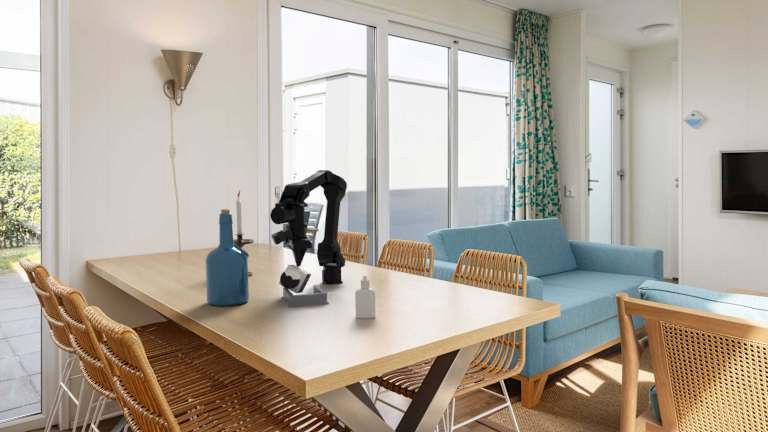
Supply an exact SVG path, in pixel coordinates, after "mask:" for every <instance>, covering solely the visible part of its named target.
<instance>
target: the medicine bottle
mask: <svg viewBox="0 0 768 432" xmlns="http://www.w3.org/2000/svg"><path fill="white" fill-rule="evenodd" d="M311 276H312V273H310V272H309V271H307V270H305V269H303V268H301V267H297V266H296V264H287V267H286V269H285V270H284V271H283V272H282V273H281V275H280V278H279V282H278V285H280V286H282V288H287V289H288V290H289V291H290V292H292V293H295V294H301V293H303V291H304V290H305V288H306V287H307V286H306V285H307V284H308V282H309V280H310V278H311Z"/></svg>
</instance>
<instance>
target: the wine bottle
mask: <svg viewBox="0 0 768 432" xmlns="http://www.w3.org/2000/svg"><path fill="white" fill-rule="evenodd" d="M218 225H219V241H218V242H219V244H218V246H217V247H215V248H213V249H211V250H210V251H209V252H208V254H207V256H206V258H205V275H206V276H205V277H206V282H205V283H206V301H207V303H208V304H209V305H211V306H216V307H232V306H236V305H237V306H238V305H242V304H244V303H247V302H248V301H249V298H250V290H249V289H250V288H249V287H250V283H249V277H248V272H249V257H250V254H249V253H248V252H247V251H246V250H245V249H244V248H242V249H241V248H240V247H239V246H238V245H236V244H235V243H233V240H234V231H233V228H234V227H233V225H234V223H233V216H232V213H231V210H230V209H228V208H225V209H221V210H220V213H219V219H218Z"/></svg>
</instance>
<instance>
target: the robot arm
mask: <svg viewBox="0 0 768 432" xmlns="http://www.w3.org/2000/svg"><path fill="white" fill-rule="evenodd" d="M319 187H321V188H322V189H323V195H324V197H325V199H326V208H325V209H326V211H325V222H324V233H323V239H322V241H321V242H318V244H317V250H316V256H317V257H316V258H317V261H318V264H319V265H318V266H319V267H322V270H321V281H322V282H323V283H324V284H325V285H331V284H332V285H333V284H343V282H344V281H343V280H342V268H344V267H345V266H346V259H345V258H344V256H343V254H342V253H341V251H342V250H341V246H340V244H339V241H338V234H339V231H338V230H339V224H340V223H339V222H340V220H339V219H340V209H341V202H342V201H343V199H344V197H345V196H346V193H347V192H346V191H347V187H348V184H347V181H346V180H345V179H344V178H343V177H342V176H340V175H337V174H336V173H333V172H332V171H331V170H328V169H319V170H317V171H316V172H314V173H313V174H311V175H309V176H308V177H306V178H305V179H303V180H302V181H299V182H291V183H287V184H285V186H284V187H283V188H284V189H283V190H282V193H281V196H280V198H279V201H278V202H276V203H274V207H273V208H271V212H270V213H269V214H270V220H271V221H272V223H273V224H275V225H281V224H282V225H284V224H286V225H285V227H286V228H284V229H281V230H279V231H276V232H274V233H272V234H271V235H270V236H271V238H272V240H273V242H274V245H277V246H278V245H280V244H281V243H284V244H288V243H289V245H286V246H287V247H288V249H289V250H291V251H292V254H293V258H294V259H293V260H294V262H295V266H297V267H299V268H301V265H302V262H303V260H304V257H305V255H306V253H307V251H308V250H309V249H312V248H313V242H312V241H311V240H310V239H308V236H307V235H306V228H307V223H306V219H305V218H306V216H305V213H306V212H305V208H307V207H309V205H308V203H306V202H305V201H306V200H307V199H308V197H310V193H311V192H312V191H314V190H315V189H316V188H319Z"/></svg>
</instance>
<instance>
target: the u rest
mask: <svg viewBox="0 0 768 432" xmlns="http://www.w3.org/2000/svg"><path fill="white" fill-rule="evenodd" d="M281 299H282V300H283V302H284V304H286V306H287V307H288V308H296V307H297V308H298V307H308V306H309V307H310V306H318V305H329V304H330V303H329V301H328V294H327V292H326V291H325V290H324V289H322V288H321V287H320V286H319V285H318V284H315V285H314V284H313V292H312V293H305V294H296V295H295V294H293V292H292V291H291V290H289V289H287V288H284V287H282V296H281Z"/></svg>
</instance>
